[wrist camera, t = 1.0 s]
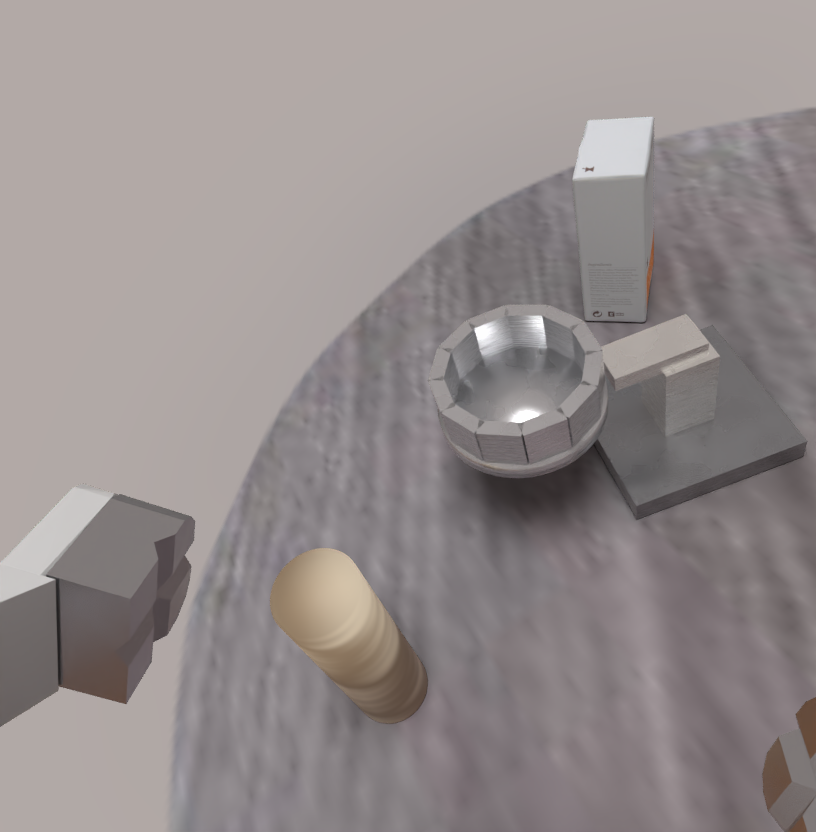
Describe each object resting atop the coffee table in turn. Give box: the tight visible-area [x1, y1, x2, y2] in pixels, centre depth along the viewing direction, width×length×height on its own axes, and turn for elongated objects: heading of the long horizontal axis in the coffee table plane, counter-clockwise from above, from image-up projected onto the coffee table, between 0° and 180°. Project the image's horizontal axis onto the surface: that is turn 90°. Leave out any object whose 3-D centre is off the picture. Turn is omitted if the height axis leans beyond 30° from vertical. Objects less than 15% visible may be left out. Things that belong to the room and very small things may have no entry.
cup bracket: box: [428, 305, 807, 519], centre depth 42 cm, size 18×10×10 cm, turn 106°
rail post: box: [270, 548, 428, 724], centre depth 36 cm, size 4×4×12 cm
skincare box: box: [572, 117, 654, 322], centre depth 49 cm, size 6×4×12 cm
